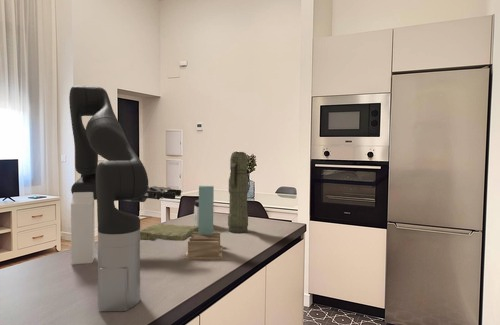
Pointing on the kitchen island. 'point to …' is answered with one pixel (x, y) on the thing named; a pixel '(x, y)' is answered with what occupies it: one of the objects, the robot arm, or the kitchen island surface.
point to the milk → (82, 228)
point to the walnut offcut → (204, 236)
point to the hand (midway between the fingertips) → (178, 194)
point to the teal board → (206, 210)
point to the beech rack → (204, 247)
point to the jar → (196, 213)
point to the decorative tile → (167, 232)
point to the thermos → (238, 193)
